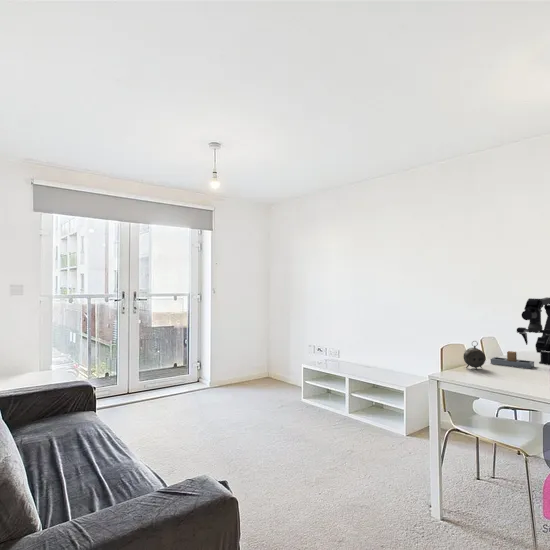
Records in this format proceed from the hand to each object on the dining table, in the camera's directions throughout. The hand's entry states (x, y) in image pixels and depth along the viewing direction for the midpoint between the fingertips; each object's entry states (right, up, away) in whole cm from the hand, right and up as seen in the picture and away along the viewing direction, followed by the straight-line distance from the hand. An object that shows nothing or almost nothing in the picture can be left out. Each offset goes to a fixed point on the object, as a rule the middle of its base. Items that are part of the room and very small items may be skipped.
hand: (535, 345), depth 233 cm
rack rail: (-13, -12, +2) cm, 18 cm away
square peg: (-13, -12, +2) cm, 18 cm away
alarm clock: (-41, -12, -8) cm, 43 cm away
